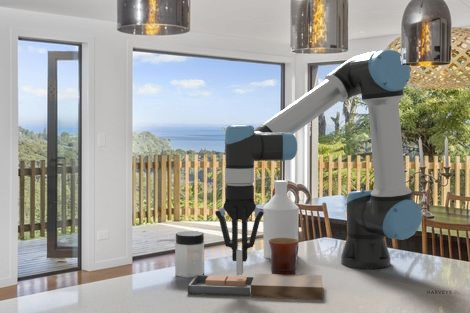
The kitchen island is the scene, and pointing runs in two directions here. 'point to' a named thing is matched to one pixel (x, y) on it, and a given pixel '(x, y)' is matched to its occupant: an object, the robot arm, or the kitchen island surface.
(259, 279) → the board
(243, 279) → the tile
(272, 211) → the bottle
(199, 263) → the jar
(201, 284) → the tray
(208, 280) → the tile
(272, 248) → the mug
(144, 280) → the kitchen island surface
